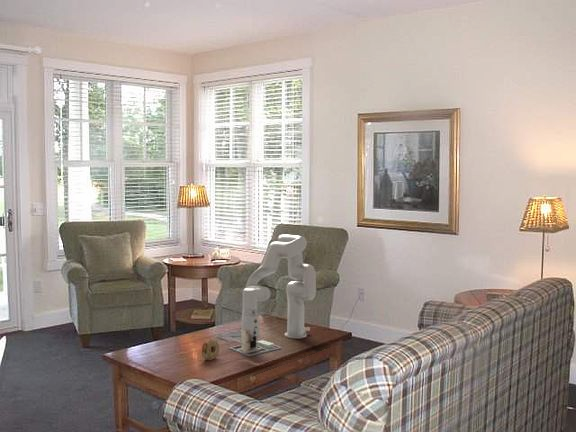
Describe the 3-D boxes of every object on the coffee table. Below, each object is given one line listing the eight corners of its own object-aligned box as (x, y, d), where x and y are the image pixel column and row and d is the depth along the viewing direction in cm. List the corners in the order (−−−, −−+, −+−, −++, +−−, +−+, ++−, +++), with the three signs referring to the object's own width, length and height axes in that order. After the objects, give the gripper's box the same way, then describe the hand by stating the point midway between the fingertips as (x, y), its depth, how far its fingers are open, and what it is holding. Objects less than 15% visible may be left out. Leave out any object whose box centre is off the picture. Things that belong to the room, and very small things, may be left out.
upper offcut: (262, 343, 338) (262, 340, 338) (273, 347, 332) (274, 343, 332) (256, 345, 335) (256, 341, 335) (267, 348, 329) (268, 345, 329)
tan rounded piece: (206, 362, 309) (206, 342, 308) (200, 361, 311) (200, 341, 310) (220, 357, 317) (220, 338, 317) (215, 356, 320) (215, 336, 319)
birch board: (253, 350, 330) (253, 328, 329) (257, 351, 328) (257, 329, 327) (241, 353, 325) (241, 330, 324) (244, 354, 323) (245, 331, 322)
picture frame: (216, 338, 355) (240, 346, 339) (216, 333, 354) (240, 342, 339) (239, 333, 366) (263, 341, 350) (239, 329, 366) (263, 336, 350)
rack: (261, 343, 343) (261, 340, 342) (281, 351, 330) (281, 347, 330) (228, 351, 328) (228, 347, 328) (248, 359, 316) (248, 355, 315)
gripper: (265, 314, 321) (265, 348, 322) (245, 307, 334) (245, 341, 335) (254, 316, 316) (253, 351, 317) (234, 309, 329) (233, 343, 330)
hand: (249, 345), depth 326 cm, fingers open, 5 cm apart
